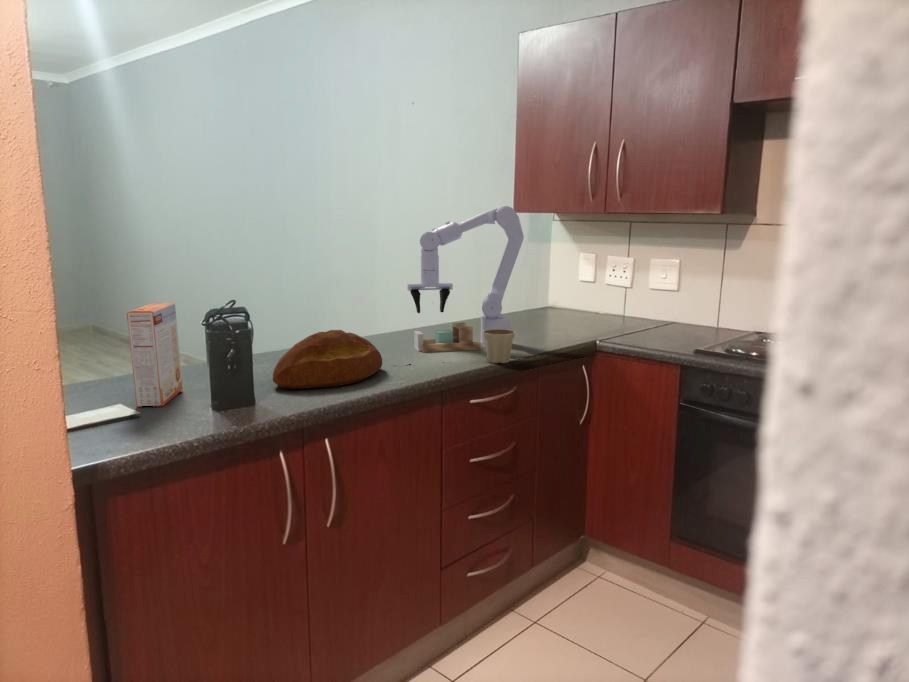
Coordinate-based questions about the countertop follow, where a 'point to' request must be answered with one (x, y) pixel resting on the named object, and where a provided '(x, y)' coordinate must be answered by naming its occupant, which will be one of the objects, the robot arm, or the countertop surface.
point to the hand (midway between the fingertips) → (430, 312)
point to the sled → (418, 340)
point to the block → (443, 336)
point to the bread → (327, 361)
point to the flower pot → (498, 344)
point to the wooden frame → (454, 340)
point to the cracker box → (154, 353)
